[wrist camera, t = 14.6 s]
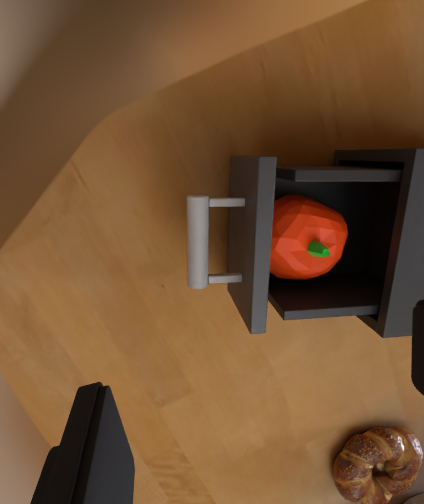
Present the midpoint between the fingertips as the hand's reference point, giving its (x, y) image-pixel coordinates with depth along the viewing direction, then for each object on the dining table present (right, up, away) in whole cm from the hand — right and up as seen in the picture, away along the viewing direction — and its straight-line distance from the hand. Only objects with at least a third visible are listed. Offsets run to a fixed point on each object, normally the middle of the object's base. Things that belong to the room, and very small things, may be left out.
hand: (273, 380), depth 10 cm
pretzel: (+19, -23, +34) cm, 45 cm away
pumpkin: (+5, +6, +20) cm, 22 cm away
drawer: (+5, +6, +21) cm, 23 cm away
